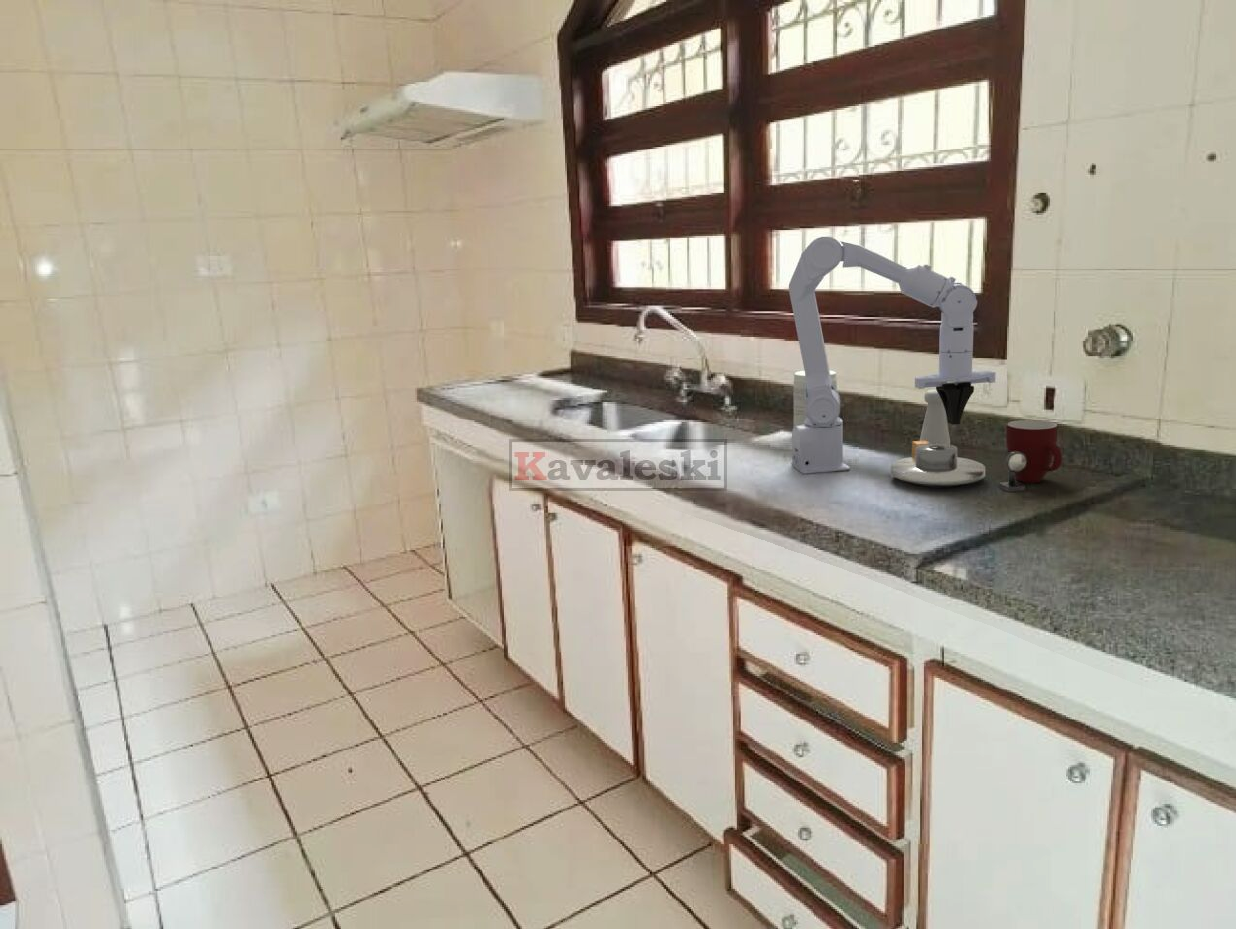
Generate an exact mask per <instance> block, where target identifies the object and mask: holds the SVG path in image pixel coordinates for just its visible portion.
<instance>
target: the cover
mask: <svg viewBox="0 0 1236 929" xmlns="http://www.w3.org/2000/svg"><path fill="white" fill-rule="evenodd" d="M957 457H958V447H957V446H955V445H953V444H950V445H949V444H940V443H930V444H922V445H918V446H917V447H916V468H918V469H920V470H924V471H932V472H944V471H951V470H954V469H956V468H957Z"/></svg>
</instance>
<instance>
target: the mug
mask: <svg viewBox="0 0 1236 929" xmlns="http://www.w3.org/2000/svg"><path fill="white" fill-rule="evenodd" d="M1058 427H1059V425H1058V423H1055V422H1053V421H1049V420H1048V421H1047V420H1038V419H1018V420H1013V421H1009V422H1007V423H1006V427H1005V430H1006V431H1005V444H1006V450H1007V455H1008V454H1009V453H1010V452H1013V451H1019V452H1021V453H1023V454H1025V456H1026V457H1027V465H1026V467H1025V468H1024V469H1023V470H1022V471H1021V472H1018V473H1015V480H1017V482H1018V481H1019V482H1022V483H1029V484H1030V483H1039V482H1041V481H1042V480H1043V478H1044V477H1046V474H1047V472H1053V471H1056V470H1058V469H1059V468H1060V467H1061V466H1062V463H1063V455H1062V451H1061V449H1060V447H1059V446H1058V445H1057V441H1058V429H1059V428H1058ZM1052 460H1053V462H1052ZM1051 464H1052V465H1051Z"/></svg>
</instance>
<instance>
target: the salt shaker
mask: <svg viewBox="0 0 1236 929" xmlns="http://www.w3.org/2000/svg"><path fill="white" fill-rule="evenodd" d="M924 402H925V403H927V407H926V412H925V415H924V420H923V424H922V428H921V434H920V438H919V441H927V442H929V443H940V444H949V445H951V439H950V433H949V432H950V431H949V426H948V425H949V423H948V420H947V415H946V411H945V408H944V405H943V402H942V400H941V398H940V396H939V394H938V392H937V390H936V388H934V389H929V390H927V391H925V392H924Z"/></svg>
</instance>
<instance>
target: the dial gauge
mask: <svg viewBox="0 0 1236 929" xmlns="http://www.w3.org/2000/svg"><path fill="white" fill-rule="evenodd" d="M1003 464H1004V467H1005V469H1006V470H1008V481H1005V482H998V488H999V489H1001V490H1003V491H1004V492H1007V493H1010V492H1019V491H1020V492H1021V491H1025V490H1026V486H1025V485H1024V484H1022V483H1020V482H1018V481H1016V477H1015V473H1018V472H1021V471H1022V470H1023V469H1024V468H1025V467H1026V465H1027V457H1026V456H1025V454H1023V453H1021V452H1019V451H1013V452H1010V453H1009V454H1008V453H1007V455H1006V456H1005V458H1004V461H1003Z"/></svg>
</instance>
